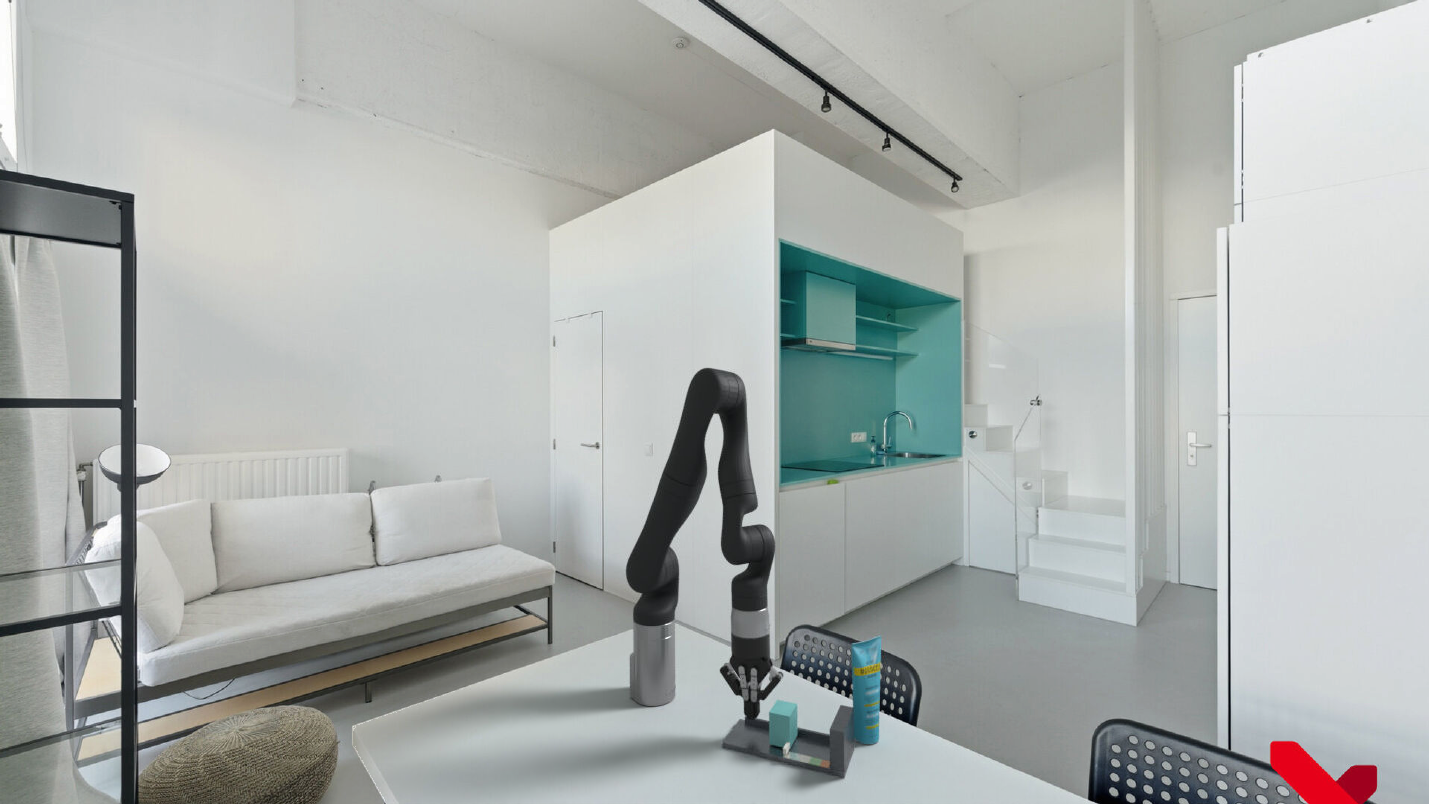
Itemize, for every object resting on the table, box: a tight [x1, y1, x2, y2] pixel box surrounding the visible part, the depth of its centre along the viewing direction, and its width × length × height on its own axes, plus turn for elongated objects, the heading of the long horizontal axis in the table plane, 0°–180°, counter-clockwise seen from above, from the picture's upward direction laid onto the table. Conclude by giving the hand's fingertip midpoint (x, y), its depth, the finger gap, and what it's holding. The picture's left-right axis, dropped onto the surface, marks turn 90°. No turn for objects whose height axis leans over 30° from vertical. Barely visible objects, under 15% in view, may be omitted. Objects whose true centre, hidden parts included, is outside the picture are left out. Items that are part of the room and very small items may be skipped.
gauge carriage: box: [768, 699, 798, 755], centre depth 112 cm, size 4×7×6 cm, turn 156°
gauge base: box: [721, 704, 855, 779], centre depth 112 cm, size 23×9×8 cm, turn 66°
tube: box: [850, 635, 882, 745], centre depth 116 cm, size 7×5×19 cm, turn 123°
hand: (752, 717), depth 116 cm, fingers closed
